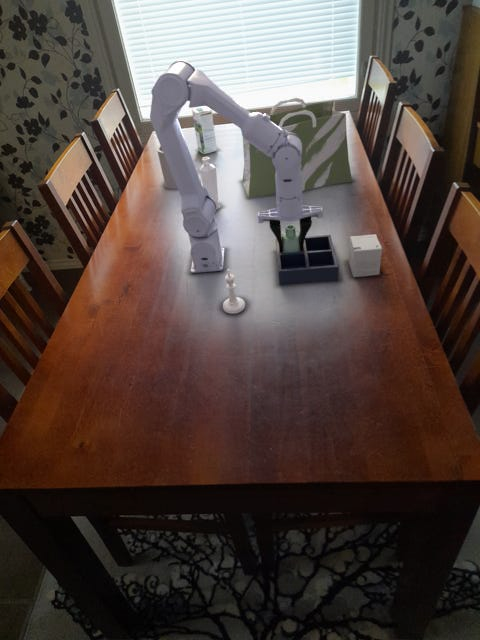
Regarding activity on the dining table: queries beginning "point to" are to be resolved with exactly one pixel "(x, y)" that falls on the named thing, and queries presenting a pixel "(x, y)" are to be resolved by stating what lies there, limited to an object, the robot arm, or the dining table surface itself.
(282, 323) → the dining table surface
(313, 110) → the grocery bag
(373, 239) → the white cardboard box
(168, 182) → the cup
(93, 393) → the dining table surface
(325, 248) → the divided tray
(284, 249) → the bottle
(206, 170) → the perfume bottle
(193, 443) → the dining table surface
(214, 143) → the syrup box
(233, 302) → the chess piece
